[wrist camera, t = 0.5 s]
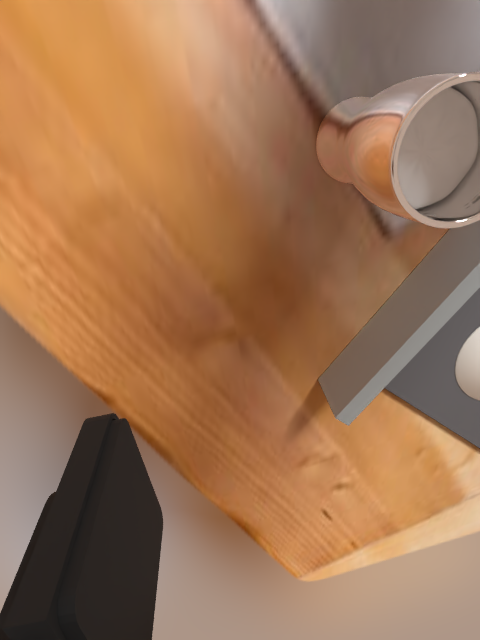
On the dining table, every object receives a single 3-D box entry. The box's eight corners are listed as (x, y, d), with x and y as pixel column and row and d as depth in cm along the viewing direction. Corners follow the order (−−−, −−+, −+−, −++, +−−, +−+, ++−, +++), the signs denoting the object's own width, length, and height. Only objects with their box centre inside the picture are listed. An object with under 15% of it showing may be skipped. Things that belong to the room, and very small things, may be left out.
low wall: (547, 117, 33) (615, 116, 28) (558, 130, 34) (627, 131, 28) (317, 379, 42) (335, 417, 36) (329, 386, 42) (348, 425, 37)
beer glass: (399, 180, 34) (529, 219, 21) (313, 195, 34) (387, 244, 21) (399, 82, 31) (551, 51, 18) (305, 98, 31) (385, 81, 18)
